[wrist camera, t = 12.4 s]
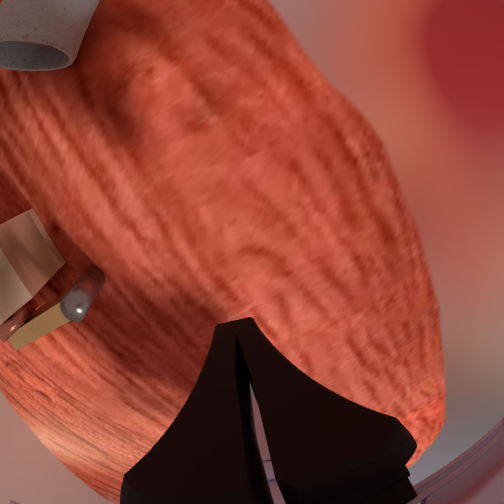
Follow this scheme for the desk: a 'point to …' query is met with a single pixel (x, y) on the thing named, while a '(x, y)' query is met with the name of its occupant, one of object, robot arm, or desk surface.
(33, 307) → the pin
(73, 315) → the bar
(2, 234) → the hitch block
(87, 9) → the ceramic mug
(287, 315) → the desk surface
